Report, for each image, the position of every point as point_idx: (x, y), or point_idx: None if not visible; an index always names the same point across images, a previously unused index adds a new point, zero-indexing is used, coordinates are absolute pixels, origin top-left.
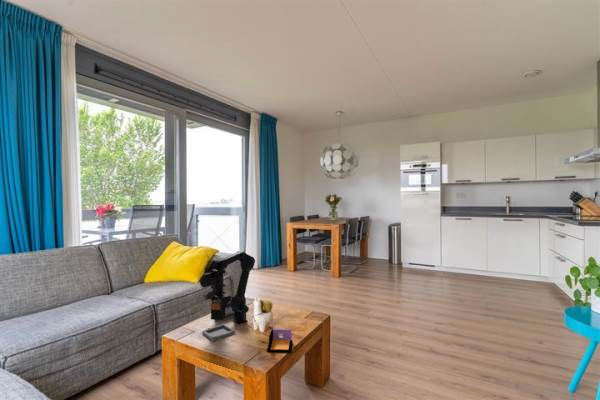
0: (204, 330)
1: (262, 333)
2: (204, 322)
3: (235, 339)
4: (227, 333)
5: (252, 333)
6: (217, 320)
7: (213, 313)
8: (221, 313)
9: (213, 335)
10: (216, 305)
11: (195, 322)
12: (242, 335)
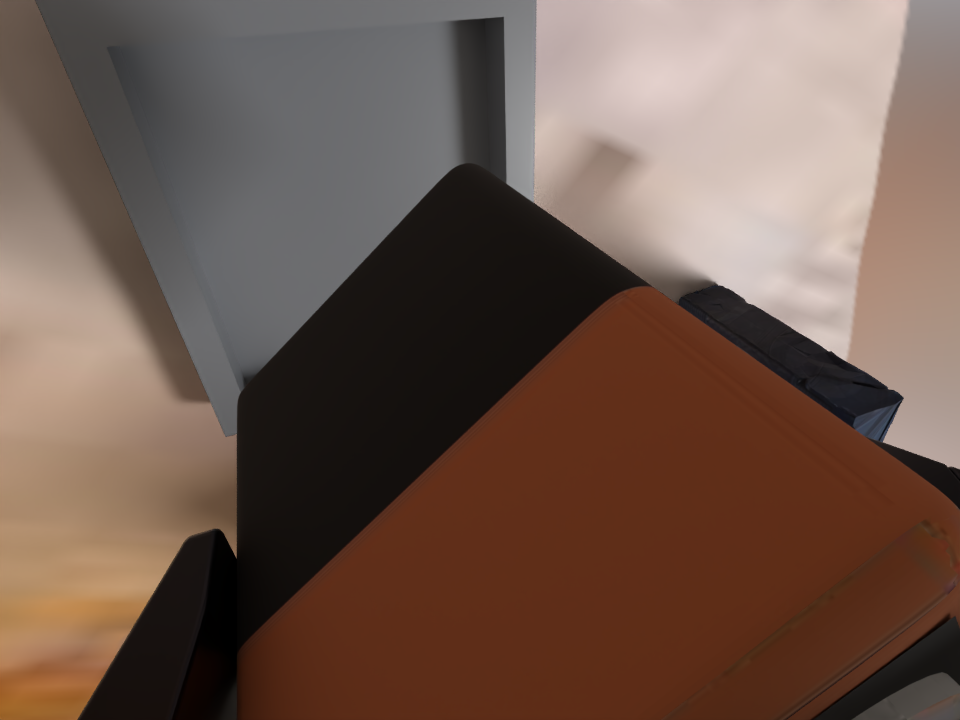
0: (526, 17)
1: (73, 649)
2: (795, 171)
3: (15, 377)
4: (181, 327)
5: (130, 570)
6: (692, 314)
7: (461, 291)
8: (244, 519)
9: (324, 117)
10: (483, 695)
11: (890, 67)
12: (126, 474)
